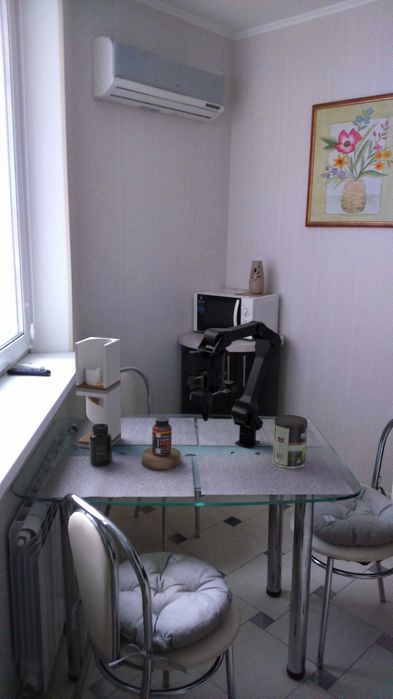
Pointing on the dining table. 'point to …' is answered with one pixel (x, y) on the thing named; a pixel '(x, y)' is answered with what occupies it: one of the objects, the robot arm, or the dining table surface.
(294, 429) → the coffee can
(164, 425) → the supplement bottle
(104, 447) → the supplement bottle
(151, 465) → the walnut stand
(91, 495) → the dining table surface
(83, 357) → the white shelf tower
